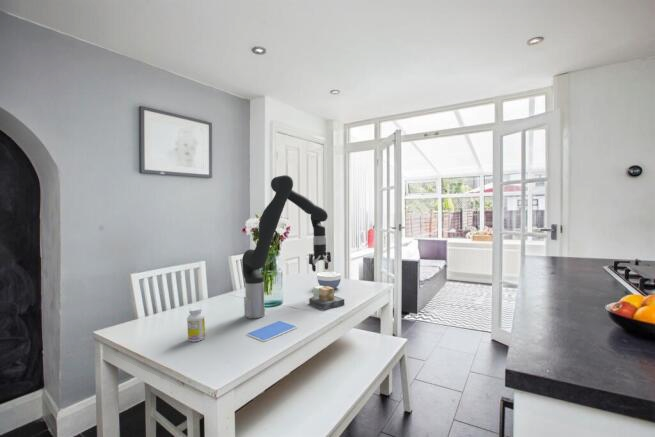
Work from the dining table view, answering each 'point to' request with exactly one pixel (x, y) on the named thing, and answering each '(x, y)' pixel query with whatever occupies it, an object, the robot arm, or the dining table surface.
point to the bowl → (329, 279)
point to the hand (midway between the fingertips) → (320, 270)
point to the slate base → (326, 302)
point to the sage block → (316, 291)
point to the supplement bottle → (196, 325)
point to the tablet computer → (271, 331)
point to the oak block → (326, 293)
